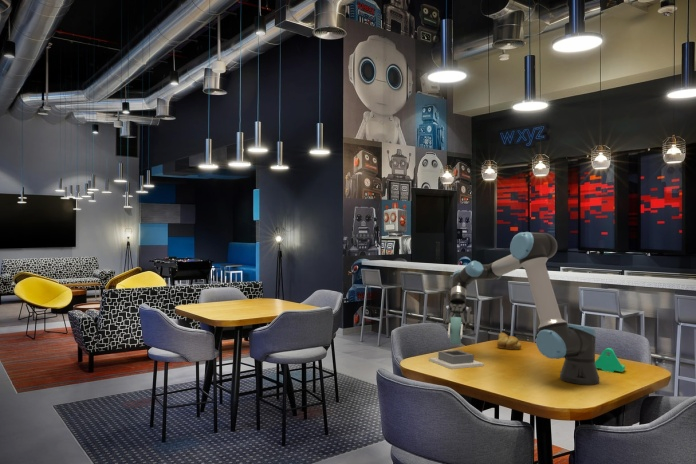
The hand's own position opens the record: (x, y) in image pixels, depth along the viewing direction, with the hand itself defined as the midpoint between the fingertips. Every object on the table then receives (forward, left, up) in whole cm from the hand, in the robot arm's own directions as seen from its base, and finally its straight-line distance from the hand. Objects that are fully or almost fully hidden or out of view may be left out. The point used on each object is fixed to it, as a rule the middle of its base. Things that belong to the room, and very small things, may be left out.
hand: (455, 336), depth 252 cm
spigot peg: (+3, -2, -4) cm, 5 cm away
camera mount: (-32, -62, -13) cm, 71 cm away
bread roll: (+23, -52, -13) cm, 58 cm away
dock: (+2, -2, -13) cm, 13 cm away
